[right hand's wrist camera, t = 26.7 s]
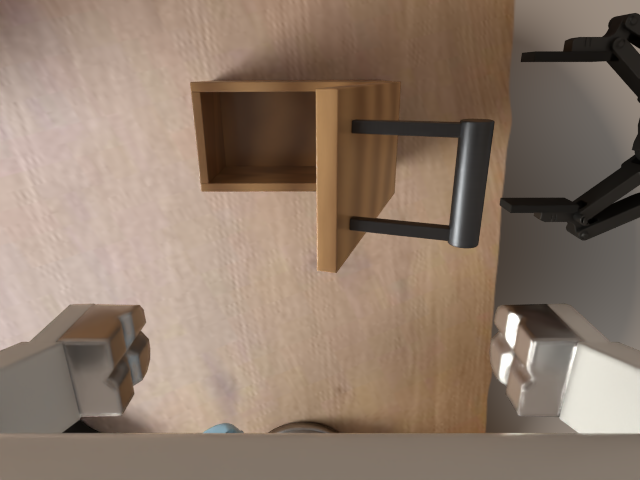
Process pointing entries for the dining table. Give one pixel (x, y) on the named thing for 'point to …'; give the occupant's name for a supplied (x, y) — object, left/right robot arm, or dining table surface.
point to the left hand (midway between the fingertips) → (515, 135)
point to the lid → (386, 170)
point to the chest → (258, 133)
